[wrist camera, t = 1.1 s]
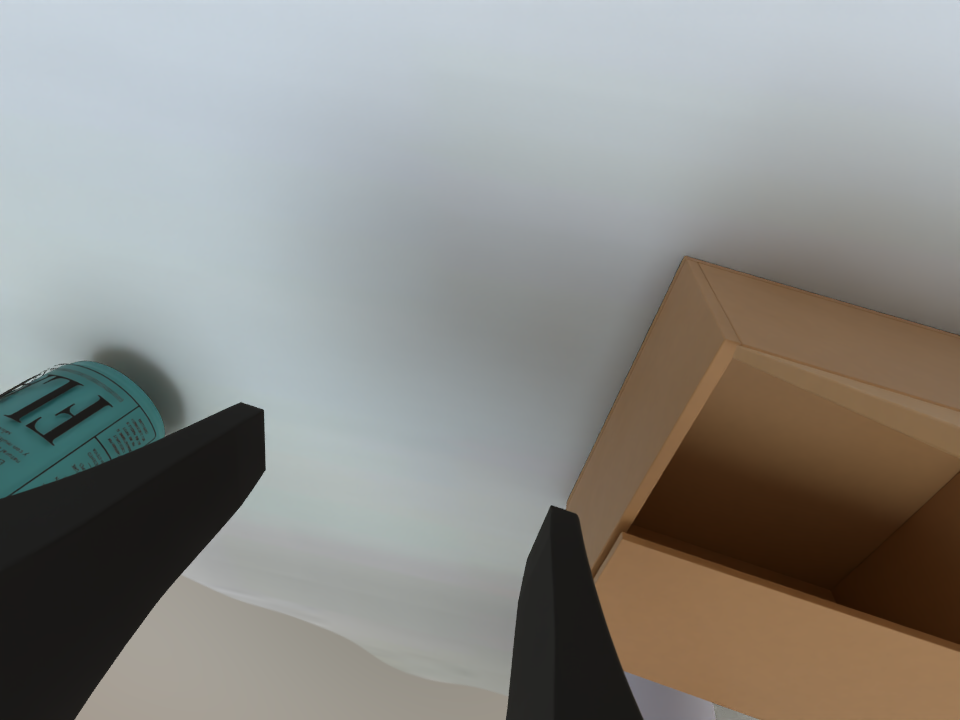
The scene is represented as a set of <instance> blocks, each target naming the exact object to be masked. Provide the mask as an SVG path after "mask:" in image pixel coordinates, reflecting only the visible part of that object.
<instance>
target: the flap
mask: <svg viewBox="0 0 960 720" xmlns="http://www.w3.org/2000/svg"><path fill="white" fill-rule="evenodd" d="M733 358H734V359H736V360H738V361H741V362H743V363H745V364H747V365H750V366H752V367H754V368H756V369H759V370H761V371H763V372H765V373H768V374H770V375H772V376H774V377H777V378H779V379H781V380H783V381H786V382H788V383H790V384H792V385H795V386H797V387H799V388H801V389H804V390H806V391H808V392H810V393H813V394H815V395H817V396H819V397H822V398H824V399H826V400H828V401H831V402H833V403H835V404H837V405H840V406H842V407H844V408H846V409H849V410H851V411H853V412H855V413H858V414H860V415H862V416H864V417H867V418H869V419H871V420H873V421H876V422H878V423H880V424H883V425H885V426H887V427H889V428H892V429H894V430H896V431H898V432H901V433H903V434H905V435H907V436H910V437H912V438H914V439H916V440H919V441H921V442H923V443H925V444H928V445H930V446H932V447H934V448H937V449H939V450H941V451H943V452H946V453H948V454H950V455H952V456H955V457H957V458H959V459H960V412H958V411H954V410H951V409H948V408H945V407H941V406H938V405H935V404H931V403H928V402H925V401H921V400H918V399H915V398H911V397H908V396H905V395H901V394H898V393H895V392H891V391H888V390H885V389H882V388H878V387H875V386H872V385H868V384H865V383H862V382H858V381H855V380H852V379H848V378H845V377H842V376H838V375H835V374H832V373H828V372H825V371H822V370H819V369H815V368H812V367H809V366H805V365H802V364H799V363H795V362H792V361H789V360H785V359H782V358H779V357H775V356H772V355H769V354H765V353H762V352H759V351H756V350H752V349H749V348H746V347H742V346H737V347H736V350H735V352H734V355H733Z"/></svg>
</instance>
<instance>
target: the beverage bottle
mask: <svg viewBox="0 0 960 720" xmlns="http://www.w3.org/2000/svg"><path fill="white" fill-rule="evenodd" d="M59 365H63V366H61V367H59V368H56V369H55V370H53V369H54V368H53V369H52V368H51V370H53V371H51V372H49V373H47V374H45V372H46V371H47V370H46V371H45V372H44V371H43V372H44V374H45V375H44V374H43V375H42V374H40V375H42V376H41V377H39V378H37V379H36V380H34V381H33V380H32V381H31V382H30V383H27V384H24V383H26V382H27V381H29V380H31V379H32V378H33V379H34V377H35V378H36V377H37V376H38V375H36V376H34V377H32V378H29V379H28V380H26V381H24V382H22V383H20V384H19V385H17V386H15V387H13V388H12V389H10V390H8V391H6V392H4V393H3V394H1V395H0V499H1V498H4V497H8V496H11V495H14V494H18V493H21V492H24V491H27V490H30V489H33V488H36V487H39V486H42V485H45V484H48V483H51V482H54V481H57V480H60V479H62V478H65V477H68V476H71V475H73V474H76V473H79V472H81V471H84V470H87V469H89V468H92V467H94V466H97V465H99V464H102V463H104V462H107V461H109V460H112V459H114V458H116V457H119V456H121V455H124V454H126V453H129V452H131V451H134V450H136V449H139V448H141V447H143V446H146V445H148V444H150V443H152V442H155V441H157V440H159V439H161V438H163V437H165V429H164V424H163V421H162V418H161V416H160V414H159V412H158V410H157V408H156V407H155V405H154V404H153V402H152V401H151V400H150V398H149V397H148V396H147V395H146V394H145V392H144V391H143V390H142V389H141V388H140V387H139V386H138V385H136V384H135V383H134V382H133V381H132V380H130V379H129V378H128V377H126V376H125V375H123V374H122V373H120V372H119V371H117V370H115V369H113V368H111V367H108V366H106V365H103V364H100V363H97V362H91V361H79V362H75V363H71V364H66V365H64V364H59ZM55 366H56V365H55ZM21 385H23V386H22V387H20V388H18V389H16V388H17V387H19V386H21ZM14 389H16V390H14ZM12 390H13V391H12Z"/></svg>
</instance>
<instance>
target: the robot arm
mask: <svg viewBox="0 0 960 720" xmlns="http://www.w3.org/2000/svg"><path fill="white" fill-rule="evenodd" d="M265 470H266V467H265V432H264V410H263V409H260V408H257V407H254V406H251V405H248V404H244V403H238V404H236V405H234V406H231V407H229V408H227V409H225V410H222V411H220V412H218V413H216V414H214V415H211V416H209V417H207V418H205V419H203V420H201V421H199V422H196V423H194V424H192V425H190V426H188V427H186V428H183V429H181V430H179V431H177V432H175V433H172V434H170V435H168V436H166V437H163V438H161V439H159V440H157V441H155V442H152V443H150V444H148V445H146V446H143V447H141V448H139V449H136V450H134V451H131V452H129V453H126V454H124V455H121V456H119V457H116V458H114V459H112V460H109V461H107V462H104V463H102V464H99V465H97V466H94V467H92V468H89V469H87V470H84V471H81V472H79V473H76V474H73V475H71V476H68V477H65V478H62V479H60V480H57V481H54V482H51V483H48V484H45V485H42V486H39V487H36V488H33V489H30V490H27V491H24V492H21V493H18V494H14V495H11V496H8V497H4V498H1V499H0V720H74V719H75V718H76V716H77V715H78V713H79V712H80V710H81V709H82V707H83V706H84V704H85V703H86V701H87V700H88V698H89V697H90V695H91V694H92V692H93V691H94V689H95V688H96V687H97V685H98V684H99V682H100V681H101V679H102V678H103V677H104V675H105V674H106V672H107V671H108V669H109V668H110V667H111V665H112V664H113V662H114V661H115V659H116V658H117V657H118V655H119V654H120V652H121V651H122V650H123V648H124V646H125V645H126V644H127V643H128V641H129V640H130V639H131V637H132V636H133V634H134V633H135V632H136V630H137V629H138V628H139V626H140V625H141V624H142V622H143V621H144V620H145V618H146V617H147V615H148V614H149V613H150V611H151V610H152V608H153V607H154V606H155V604H156V603H157V602H158V601H159V600H160V598H161V597H162V596H163V595H164V594H165V592H166V591H167V590H168V589H169V587H170V586H171V585H172V584H173V583H174V582H175V580H176V579H177V578H178V577H179V576H180V575H181V574H182V573H183V571H184V570H185V569H186V568H187V567H188V566H189V565H190V564H191V562H192V561H193V560H194V559H195V558H196V557H197V556H198V554H199V553H200V552H201V551H202V550H203V549H204V548H205V547H206V545H207V544H208V543H209V542H210V541H211V540H212V539H213V538H214V536H215V535H216V534H217V533H218V532H219V531H220V530H221V528H222V527H223V526H224V525H225V524H226V523H227V522H228V520H229V519H230V518H231V517H232V516H233V515H234V513H235V512H236V511H237V510H238V509H239V508H240V506H241V505H242V504H243V502H244V501H245V499H246V498H247V497H248V495H249V494H250V492H251V491H252V490H253V488H254V487H255V485H256V484H257V482H258V480H259V479H260V477H261V476H262V474H263V473H264V471H265ZM506 720H716V718H715V712H714V707H713V703H712V702H709V701H706V700H704V699H701V698H698V697H695V696H692V695H690V694H687V693H684V692H681V691H678V690H676V689H673V688H670V687H667V686H664V685H661V684H659V683H656V682H653V681H650V680H647V679H645V678H642V677H639V676H636V675H633V674H631V673H628V672H625V671H623V668H622V665H621V663H620V660H619V657H618V655H617V652H616V649H615V646H614V643H613V641H612V638H611V635H610V632H609V629H608V626H607V623H606V620H605V617H604V614H603V610H602V607H601V604H600V601H599V597H598V594H597V591H596V587H595V584H594V580H593V577H592V573H591V569H590V565H589V561H588V557H587V553H586V549H585V544H584V540H583V535H582V530H581V525H580V519H579V517H578V515H577V514H576V513H573V512H570V511H567V510H564V509H561V508H558V507H555V506H552V505H551V506H550V508H549V511H548V513H547V515H546V517H545V520H544V522H543V524H542V527H541V529H540V531H539V533H538V536H537V538H536V540H535V542H534V545H533V547H532V549H531V551H530V554H529V556H528V558H527V562H526V567H525V571H524V576H523V581H522V586H521V591H520V596H519V601H518V609H517V618H516V628H515V638H514V648H513V658H512V668H511V678H510V688H509V699H508V709H507V716H506Z"/></svg>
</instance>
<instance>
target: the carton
mask: <svg viewBox="0 0 960 720" xmlns="http://www.w3.org/2000/svg"><path fill="white" fill-rule="evenodd" d="M737 346H742V347H746V348H749V349H752V350H756V351H759V352H762V353H765V354H769V355H772V356H775V357H779V358H782V359H785V360H789V361H792V362H795V363H799V364H802V365H805V366H809V367H812V368H815V369H819V370H822V371H825V372H828V373H832V374H835V375H838V376H842V377H845V378H848V379H852V380H855V381H858V382H862V383H865V384H868V385H872V386H875V387H878V388H882V389H885V390H888V391H891V392H895V393H898V394H901V395H905V396H908V397H911V398H915V399H918V400H921V401H925V402H928V403H931V404H935V405H938V406H941V407H945V408H948V409H951V410H954V411H958V412H960V336H959V335H956V334H952V333H949V332H946V331H942V330H939V329H935V328H932V327H928V326H925V325H921V324H918V323H915V322H911V321H908V320H904V319H901V318H897V317H894V316H890V315H887V314H884V313H880V312H877V311H873V310H870V309H866V308H863V307H860V306H856V305H853V304H849V303H846V302H842V301H839V300H835V299H832V298H829V297H825V296H822V295H818V294H815V293H811V292H808V291H804V290H801V289H798V288H794V287H791V286H787V285H784V284H780V283H777V282H774V281H770V280H767V279H763V278H760V277H756V276H753V275H749V274H746V273H743V272H739V271H736V270H732V269H729V268H725V267H722V266H718V265H715V264H712V263H708V262H705V261H701V260H698V259H694V258H691V257H688V256H684V258H683V260H682V262H681V264H680V266H679V268H678V270H677V272H676V274H675V276H674V279H673V281H672V283H671V285H670V287H669V289H668V291H667V293H666V295H665V297H664V300H663V302H662V304H661V306H660V308H659V310H658V312H657V314H656V316H655V318H654V320H653V323H652V325H651V327H650V329H649V331H648V333H647V335H646V337H645V339H644V341H643V344H642V346H641V348H640V350H639V352H638V354H637V356H636V358H635V360H634V362H633V364H632V367H631V369H630V371H629V373H628V375H627V377H626V379H625V381H624V383H623V385H622V388H621V390H620V392H619V394H618V396H617V398H616V400H615V402H614V404H613V406H612V408H611V411H610V413H609V415H608V417H607V419H606V421H605V423H604V425H603V427H602V429H601V432H600V434H599V436H598V438H597V440H596V442H595V444H594V446H593V448H592V450H591V452H590V455H589V457H588V459H587V461H586V463H585V465H584V467H583V469H582V471H581V473H580V476H579V478H578V480H577V482H576V484H575V486H574V488H573V490H572V492H571V494H570V496H569V499H568V501H567V505H566V510H567V511H570V512H573V513H576V514H577V515H578V517H579V519H580V525H581V530H582V535H583V540H584V544H585V549H586V553H587V557H588V561H589V565H590V569H591V573H592V577H593V580H594V584H595V587H596V591H597V594H598V597H599V601H600V604H601V607H602V610H603V614H604V617H605V620H606V623H607V626H608V629H609V632H610V635H611V638H612V641H613V643H614V646H615V649H616V652H617V655H618V657H619V660H620V663H621V665H622V668H623V671H625V672H628V673H631V674H633V675H636V676H639V677H642V678H645V679H647V680H650V681H653V682H656V683H659V684H661V685H664V686H667V687H670V688H673V689H676V690H678V691H681V692H684V693H687V694H690V695H692V696H695V697H698V698H701V699H704V700H706V701H709V702H712V703H715V704H718V705H721V706H723V707H726V708H729V709H732V710H735V711H737V712H740V713H743V714H746V715H749V716H751V717H754V718H757V719H760V720H960V459H959V458H957V457H955V456H952V455H950V454H948V453H946V452H943V451H941V450H939V449H937V448H934V447H932V446H930V445H928V444H925V443H923V442H921V441H919V440H916V439H914V438H912V437H910V436H907V435H905V434H903V433H901V432H898V431H896V430H894V429H892V428H889V427H887V426H885V425H883V424H880V423H878V422H876V421H873V420H871V419H869V418H867V417H864V416H862V415H860V414H858V413H855V412H853V411H851V410H849V409H846V408H844V407H842V406H840V405H837V404H835V403H833V402H831V401H828V400H826V399H824V398H822V397H819V396H817V395H815V394H813V393H810V392H808V391H806V390H804V389H801V388H799V387H797V386H795V385H792V384H790V383H788V382H786V381H783V380H781V379H779V378H777V377H774V376H772V375H770V374H768V373H765V372H763V371H761V370H759V369H756V368H754V367H752V366H750V365H747V364H745V363H743V362H741V361H738V360H736V359H734V358H733V355H734V352H735V350H736V347H737Z"/></svg>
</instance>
